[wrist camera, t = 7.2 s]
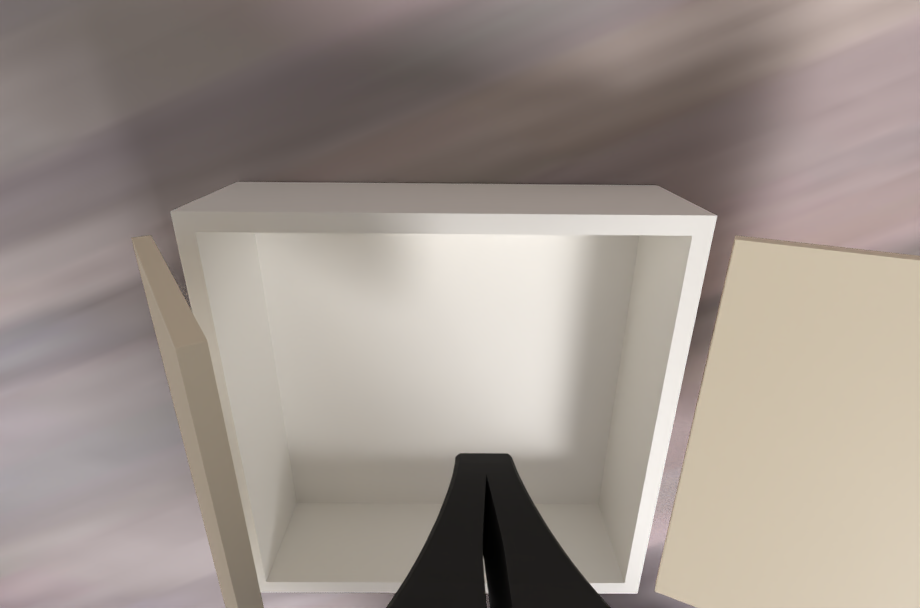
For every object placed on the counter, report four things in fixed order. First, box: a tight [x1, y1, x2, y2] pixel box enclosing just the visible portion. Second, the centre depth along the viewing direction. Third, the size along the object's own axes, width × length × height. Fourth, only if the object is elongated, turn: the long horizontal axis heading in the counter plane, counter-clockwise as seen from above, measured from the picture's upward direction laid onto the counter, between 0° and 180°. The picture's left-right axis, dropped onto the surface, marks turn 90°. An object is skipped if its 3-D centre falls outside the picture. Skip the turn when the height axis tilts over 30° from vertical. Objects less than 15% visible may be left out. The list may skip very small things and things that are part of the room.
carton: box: [170, 182, 717, 594], centre depth 16 cm, size 13×13×4 cm
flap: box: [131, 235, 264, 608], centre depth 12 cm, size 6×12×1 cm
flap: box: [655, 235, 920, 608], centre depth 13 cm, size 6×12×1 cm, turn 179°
